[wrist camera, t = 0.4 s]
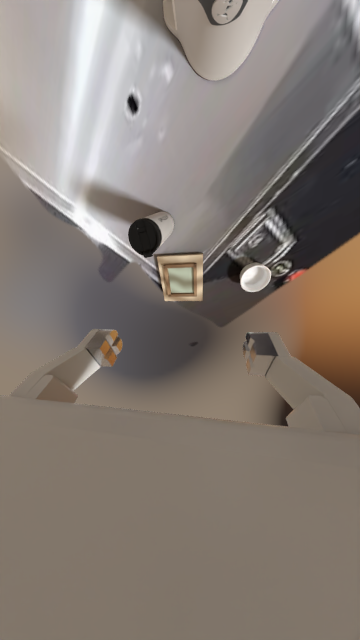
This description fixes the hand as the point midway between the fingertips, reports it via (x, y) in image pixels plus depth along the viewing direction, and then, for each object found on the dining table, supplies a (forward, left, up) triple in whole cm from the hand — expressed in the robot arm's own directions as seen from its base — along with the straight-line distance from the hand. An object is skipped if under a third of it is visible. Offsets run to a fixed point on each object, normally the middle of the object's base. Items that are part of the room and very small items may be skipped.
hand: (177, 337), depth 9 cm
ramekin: (+15, +18, -44) cm, 50 cm away
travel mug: (-1, -10, -44) cm, 45 cm away
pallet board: (+16, -6, -44) cm, 47 cm away
